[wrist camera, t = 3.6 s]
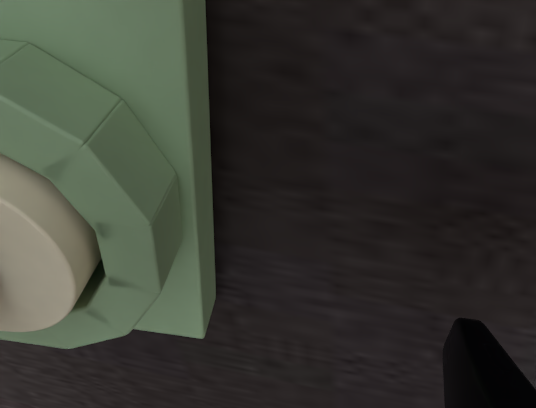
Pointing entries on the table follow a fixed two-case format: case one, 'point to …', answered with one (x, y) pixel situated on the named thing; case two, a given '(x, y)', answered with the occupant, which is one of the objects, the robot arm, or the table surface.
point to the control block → (118, 153)
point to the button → (40, 250)
